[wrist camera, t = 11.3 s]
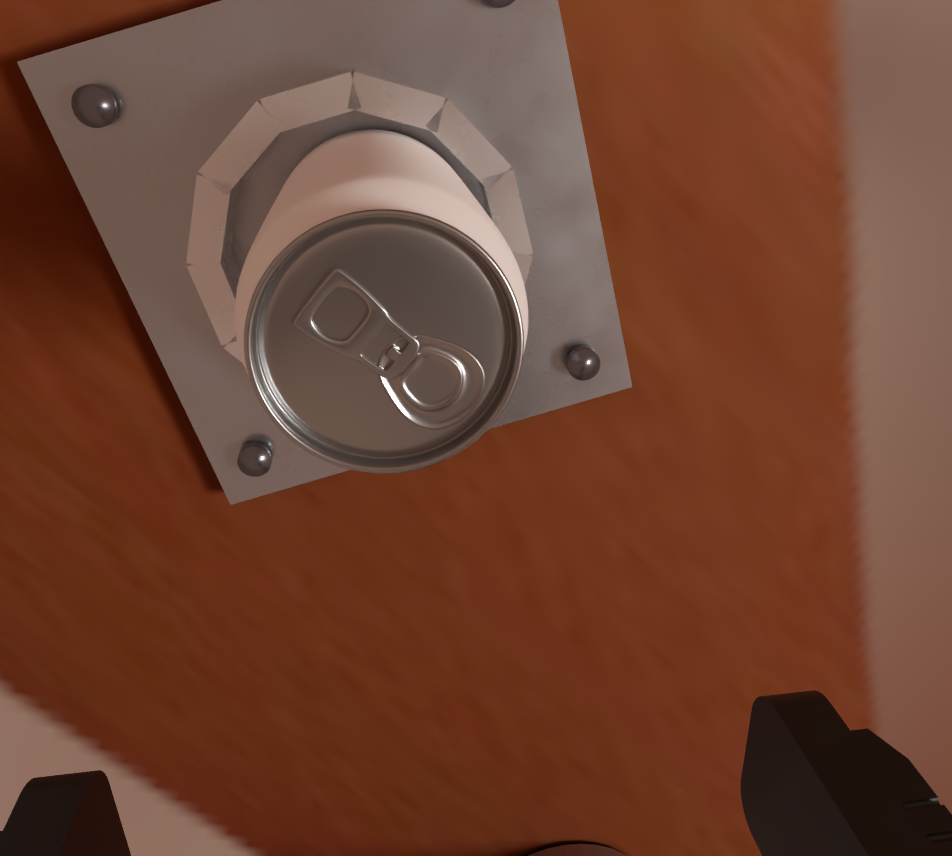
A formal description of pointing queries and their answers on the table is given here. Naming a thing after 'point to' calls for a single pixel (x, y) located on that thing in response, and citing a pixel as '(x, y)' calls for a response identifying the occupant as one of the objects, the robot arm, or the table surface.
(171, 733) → the table surface
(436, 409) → the can
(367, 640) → the table surface
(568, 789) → the table surface
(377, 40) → the duct flange
